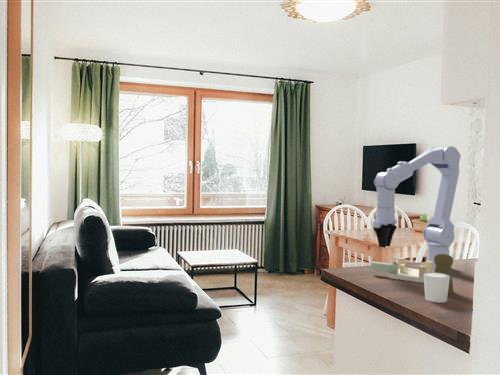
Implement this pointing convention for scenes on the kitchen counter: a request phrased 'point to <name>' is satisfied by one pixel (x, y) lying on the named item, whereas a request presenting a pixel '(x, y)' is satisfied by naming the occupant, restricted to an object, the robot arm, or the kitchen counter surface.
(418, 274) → the stool seat
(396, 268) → the hinged leg
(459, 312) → the kitchen counter surface
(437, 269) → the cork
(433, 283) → the shot glass
